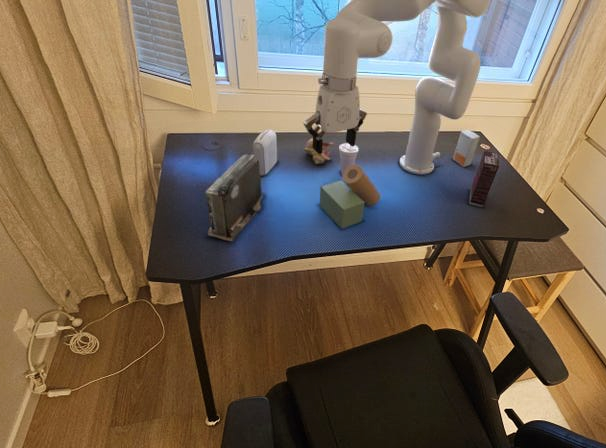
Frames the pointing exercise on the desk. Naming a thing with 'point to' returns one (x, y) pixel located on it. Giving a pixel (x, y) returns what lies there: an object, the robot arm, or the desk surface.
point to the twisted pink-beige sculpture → (317, 157)
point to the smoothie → (347, 155)
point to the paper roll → (361, 185)
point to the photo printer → (266, 151)
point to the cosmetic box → (466, 148)
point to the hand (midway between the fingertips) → (334, 147)
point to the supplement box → (484, 178)
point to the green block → (341, 204)
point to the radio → (234, 198)
